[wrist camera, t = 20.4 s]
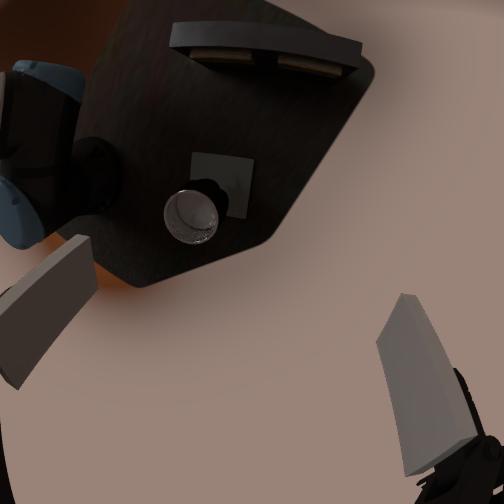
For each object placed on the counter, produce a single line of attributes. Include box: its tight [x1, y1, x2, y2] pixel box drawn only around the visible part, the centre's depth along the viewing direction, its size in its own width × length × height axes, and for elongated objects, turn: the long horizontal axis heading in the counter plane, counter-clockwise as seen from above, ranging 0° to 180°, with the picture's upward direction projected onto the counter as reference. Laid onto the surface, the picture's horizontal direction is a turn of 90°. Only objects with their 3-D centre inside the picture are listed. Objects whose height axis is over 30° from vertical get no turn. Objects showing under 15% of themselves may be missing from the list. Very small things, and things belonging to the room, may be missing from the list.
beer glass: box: [164, 168, 238, 244], centre depth 37 cm, size 7×7×15 cm
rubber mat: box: [190, 152, 254, 219], centre depth 44 cm, size 10×10×1 cm
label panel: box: [169, 21, 362, 86], centre depth 27 cm, size 19×6×16 cm, turn 82°
